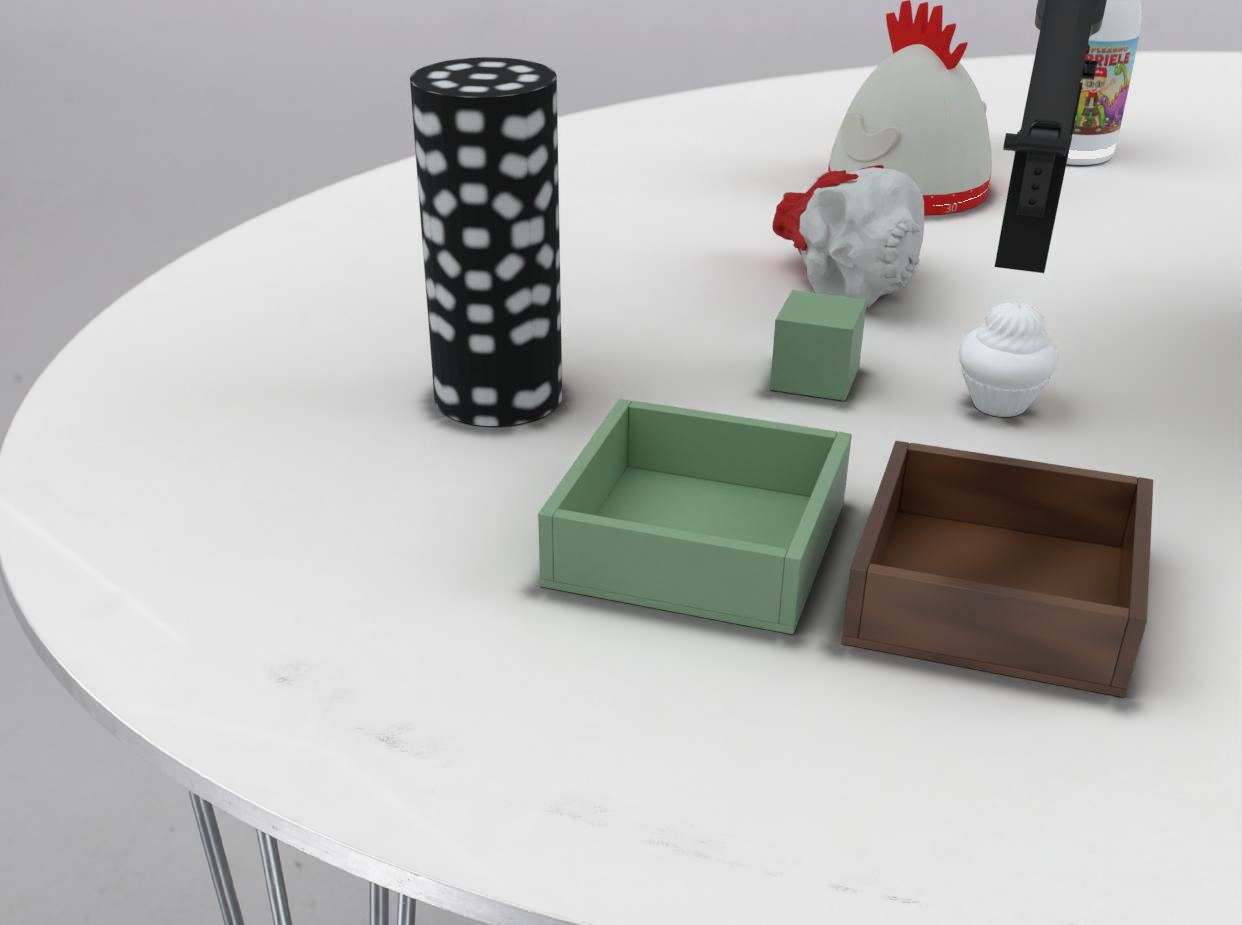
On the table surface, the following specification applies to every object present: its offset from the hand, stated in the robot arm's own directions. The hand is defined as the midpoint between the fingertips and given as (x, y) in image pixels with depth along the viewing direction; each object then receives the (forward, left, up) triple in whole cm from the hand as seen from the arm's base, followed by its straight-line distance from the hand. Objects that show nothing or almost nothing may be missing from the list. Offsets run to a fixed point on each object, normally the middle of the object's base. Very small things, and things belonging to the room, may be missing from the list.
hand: (1029, 227), depth 85 cm
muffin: (0, 0, -12) cm, 12 cm away
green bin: (+14, +22, -12) cm, 28 cm away
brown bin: (-2, +22, -12) cm, 25 cm away
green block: (+12, 0, -12) cm, 17 cm away
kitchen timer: (+12, -40, -12) cm, 44 cm away
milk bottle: (-1, -54, -12) cm, 56 cm away
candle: (+13, -17, -12) cm, 25 cm away
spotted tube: (+31, +9, -12) cm, 34 cm away
